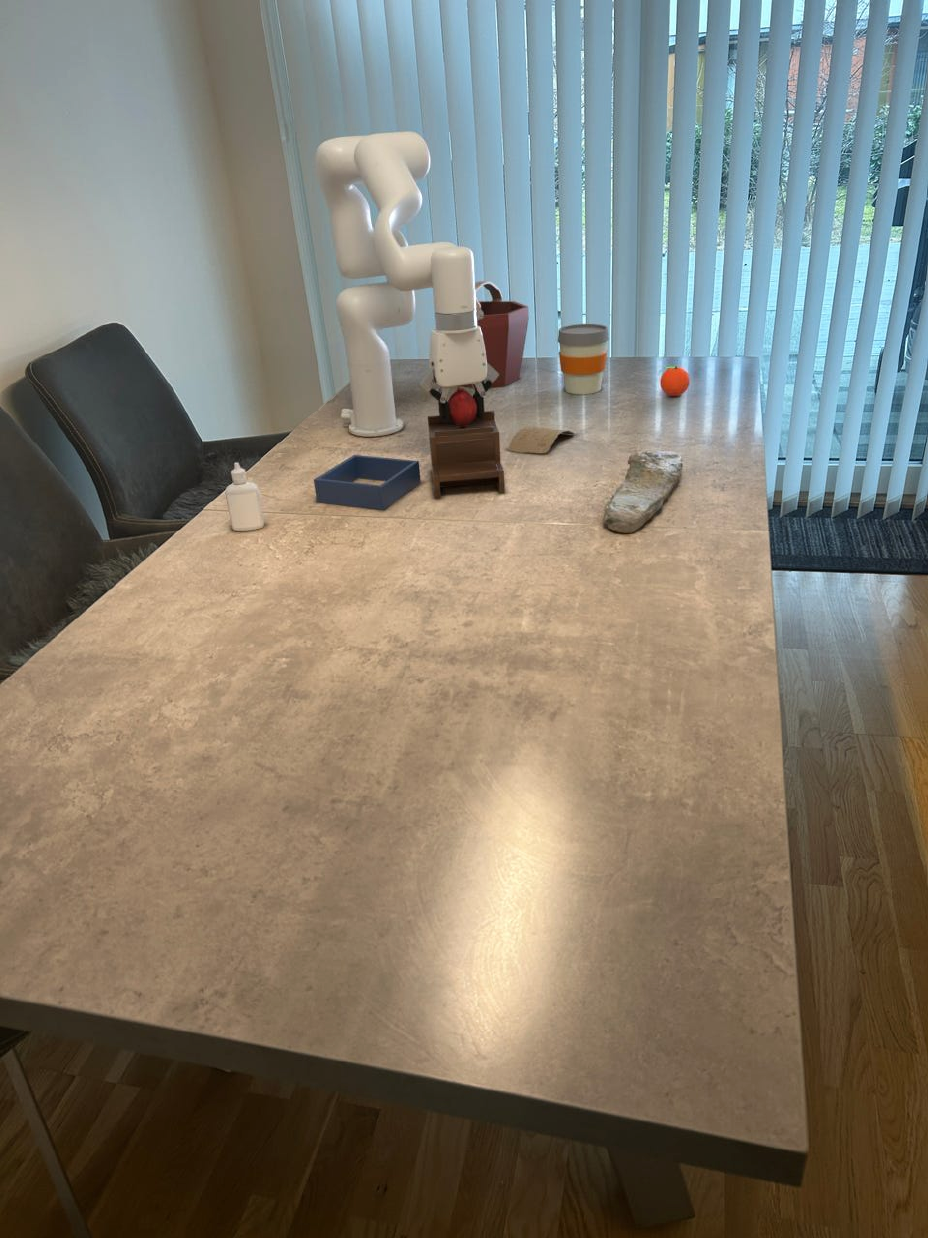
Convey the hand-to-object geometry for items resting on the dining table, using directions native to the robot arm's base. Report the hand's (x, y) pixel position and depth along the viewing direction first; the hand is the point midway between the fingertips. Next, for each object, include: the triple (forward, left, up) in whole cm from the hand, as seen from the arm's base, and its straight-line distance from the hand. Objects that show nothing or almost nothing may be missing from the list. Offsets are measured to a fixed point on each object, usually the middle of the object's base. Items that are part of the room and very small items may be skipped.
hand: (462, 418), depth 169 cm
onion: (0, 0, -2) cm, 2 cm away
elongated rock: (+36, -1, -12) cm, 38 cm away
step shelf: (+2, -3, -12) cm, 12 cm away
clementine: (+25, +66, -12) cm, 71 cm away
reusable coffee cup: (+2, +67, -12) cm, 68 cm away
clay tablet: (+7, +24, -12) cm, 28 cm away
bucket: (-27, +71, -12) cm, 77 cm away
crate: (-14, -13, -12) cm, 23 cm away
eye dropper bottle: (-27, -34, -12) cm, 45 cm away
